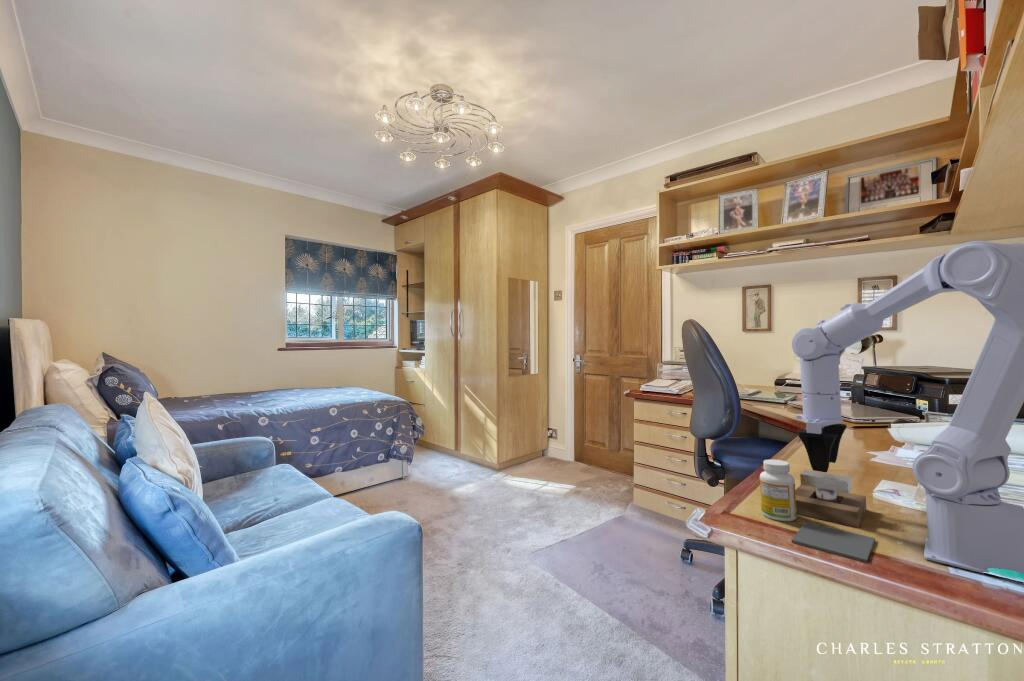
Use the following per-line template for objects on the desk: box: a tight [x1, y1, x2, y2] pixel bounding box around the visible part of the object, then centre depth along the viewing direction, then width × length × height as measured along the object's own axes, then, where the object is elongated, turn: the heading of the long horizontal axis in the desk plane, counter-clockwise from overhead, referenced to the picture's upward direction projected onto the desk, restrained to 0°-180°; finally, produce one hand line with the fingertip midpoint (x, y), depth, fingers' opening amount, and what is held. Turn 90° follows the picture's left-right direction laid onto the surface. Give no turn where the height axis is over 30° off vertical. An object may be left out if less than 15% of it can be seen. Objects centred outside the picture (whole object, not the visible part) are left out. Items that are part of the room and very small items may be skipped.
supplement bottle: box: [759, 458, 798, 522], centre depth 74 cm, size 5×5×10 cm
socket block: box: [795, 484, 867, 528], centre depth 76 cm, size 10×10×2 cm
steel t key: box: [799, 469, 853, 503], centre depth 76 cm, size 7×4×6 cm, turn 43°
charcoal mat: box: [791, 521, 876, 563], centre depth 64 cm, size 9×9×1 cm
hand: (824, 466), depth 76 cm, fingers open, 7 cm apart
